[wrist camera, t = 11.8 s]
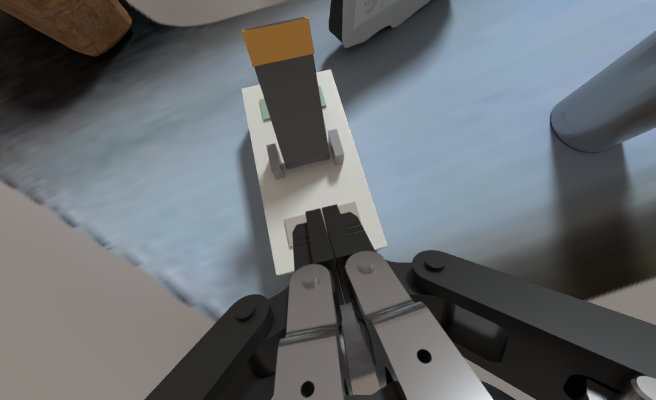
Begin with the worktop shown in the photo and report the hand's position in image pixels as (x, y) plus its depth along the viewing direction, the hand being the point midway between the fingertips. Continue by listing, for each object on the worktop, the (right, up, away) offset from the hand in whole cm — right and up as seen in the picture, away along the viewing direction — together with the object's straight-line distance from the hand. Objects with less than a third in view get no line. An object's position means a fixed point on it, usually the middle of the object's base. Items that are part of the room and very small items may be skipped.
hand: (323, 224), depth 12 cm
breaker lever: (-2, +5, +17) cm, 18 cm away
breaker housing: (-2, +4, +23) cm, 24 cm away
